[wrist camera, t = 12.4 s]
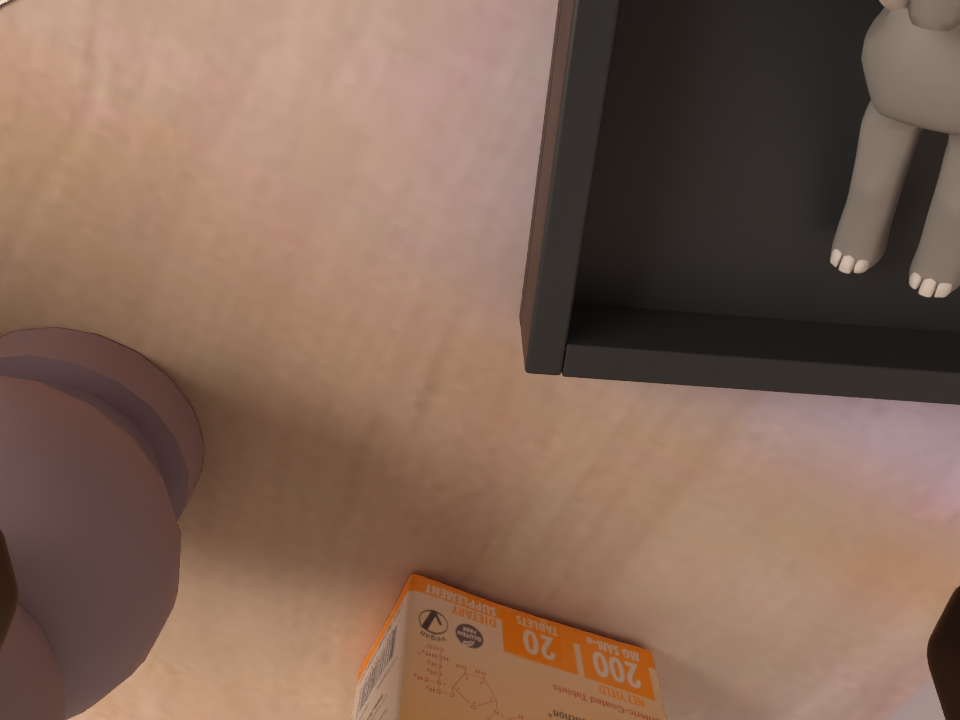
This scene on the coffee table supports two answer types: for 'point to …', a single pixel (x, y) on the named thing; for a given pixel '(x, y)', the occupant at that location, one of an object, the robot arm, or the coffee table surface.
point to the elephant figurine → (907, 141)
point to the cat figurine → (87, 514)
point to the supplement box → (497, 665)
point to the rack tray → (723, 207)
